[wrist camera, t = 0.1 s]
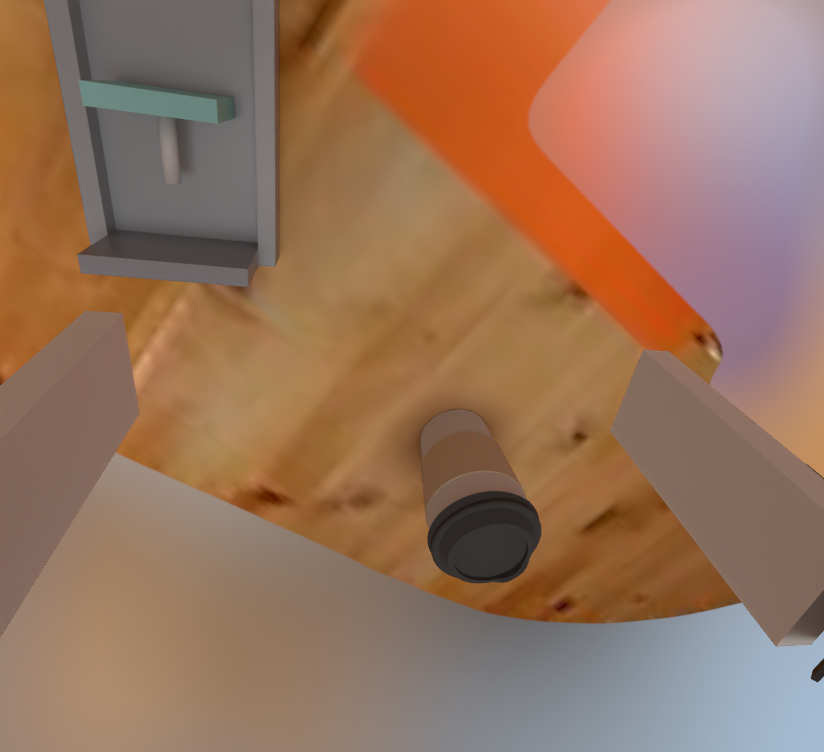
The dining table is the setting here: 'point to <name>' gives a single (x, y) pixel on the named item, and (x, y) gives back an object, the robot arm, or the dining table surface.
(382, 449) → the dining table surface
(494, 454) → the coffee cup
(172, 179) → the pusher
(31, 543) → the robot arm
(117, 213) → the lane
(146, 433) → the dining table surface
